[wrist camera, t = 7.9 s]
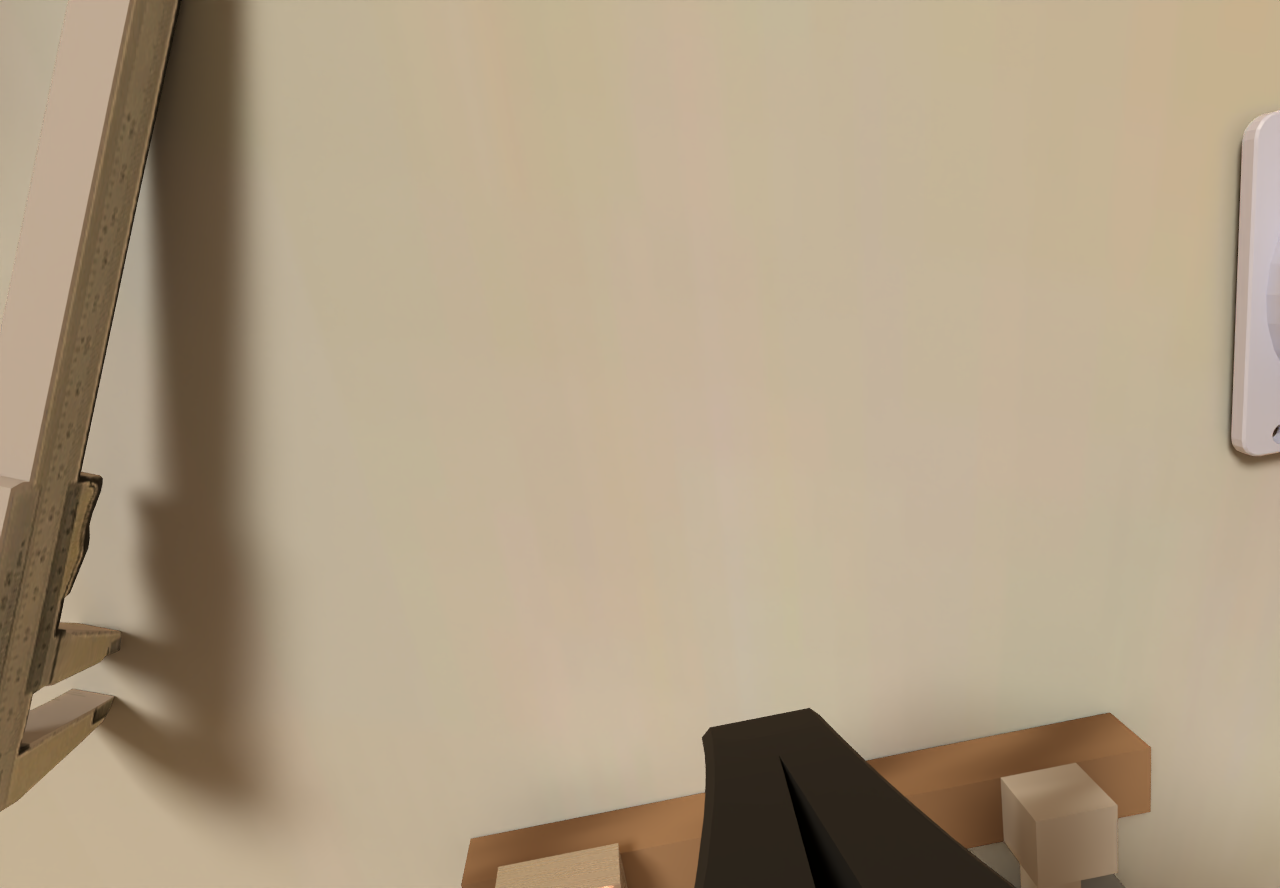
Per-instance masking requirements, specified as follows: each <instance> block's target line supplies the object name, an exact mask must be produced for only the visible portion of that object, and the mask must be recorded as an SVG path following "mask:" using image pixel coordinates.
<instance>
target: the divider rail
mask: <svg viewBox="0 0 1280 888" xmlns="http://www.w3.org/2000/svg"><path fill="white" fill-rule="evenodd" d="M866 762H868V763H869V764H870V765H871V766H872V767H873V768H874V769H875V770H876V771H877V772H878V773H879V774H880V775H882V776H883V777H884V778H885V779H886V780H887V781H888V782H889V783H890V784H891V785H892V786H894V787H895V788H896V789H897V790H898V791H899V792H900V793H901V794H902V795H904V796H905V797H906V798H907V799H908V800H909V801H910V802H912V803H913V804H914V805H915V806H916V807H918V808H919V809H920V810H921V811H922V812H923V813H925V814H926V815H927V816H928V817H929V818H930V819H932V820H933V821H934V822H935V823H936V824H937V825H939V826H940V827H941V828H942V829H943V830H944V831H946V832H947V833H948V834H949V835H950V836H951V837H953V838H954V839H955V840H956V841H957V842H959V843H960V844H961V845H962V846H964V847H965V848H966V849H967V848H972V847H977V846H982V845H987V844H992V843H997V842H1002V841H1004V842H1005V843H1006V845H1007V846H1008V847H1009V849H1010V850H1011V852H1012V853H1013V854H1014V856H1015V857H1016V859H1017V860H1018V861H1019V863H1020V878H1021V888H1081V880H1085V879H1090V878H1095V877H1100V876H1105V875H1110V874H1115V873H1118V818H1121V817H1126V816H1131V815H1136V814H1141V813H1146V812H1150V799H1151V747H1150V746H1148V745H1147V744H1146V743H1145V742H1144V741H1143V740H1141V739H1140V738H1139V737H1138V736H1137V735H1136V734H1134V733H1133V732H1132V731H1131V730H1130V729H1129V728H1127V727H1126V726H1125V725H1124V724H1123V723H1122V722H1120V721H1119V720H1118V719H1117V718H1116V717H1115V716H1113V715H1112V714H1111V713H1106V714H1100V715H1095V716H1090V717H1085V718H1080V719H1075V720H1070V721H1065V722H1060V723H1055V724H1050V725H1045V726H1040V727H1035V728H1030V729H1025V730H1020V731H1014V732H1009V733H1004V734H999V735H994V736H989V737H984V738H979V739H974V740H969V741H964V742H959V743H954V744H949V745H944V746H939V747H934V748H928V749H923V750H918V751H913V752H908V753H903V754H898V755H893V756H888V757H883V758H878V759H873V760H868V761H866ZM704 804H705V793H701V794H696V795H691V796H686V797H681V798H676V799H671V800H665V801H660V802H655V803H650V804H645V805H640V806H635V807H630V808H625V809H620V810H615V811H610V812H605V813H600V814H595V815H590V816H585V817H579V818H574V819H569V820H564V821H559V822H554V823H549V824H544V825H539V826H534V827H529V828H524V829H519V830H514V831H509V832H504V833H499V834H493V835H488V836H483V837H478V838H473V839H471V840H470V845H469V850H468V855H467V860H466V864H465V869H464V874H463V879H462V884H461V886H462V888H495V886H496V879H497V872H498V867H500V866H505V865H510V864H515V863H520V862H525V861H530V860H535V859H540V858H545V857H550V856H556V855H561V854H566V853H571V852H576V851H581V850H586V849H591V848H596V847H601V846H606V845H611V844H616V843H618V845H619V849H620V854H621V858H622V863H623V867H624V872H625V877H626V881H627V886H628V888H694V886H695V880H696V873H697V866H698V858H699V850H700V842H701V834H702V826H703V818H704Z"/></svg>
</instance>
